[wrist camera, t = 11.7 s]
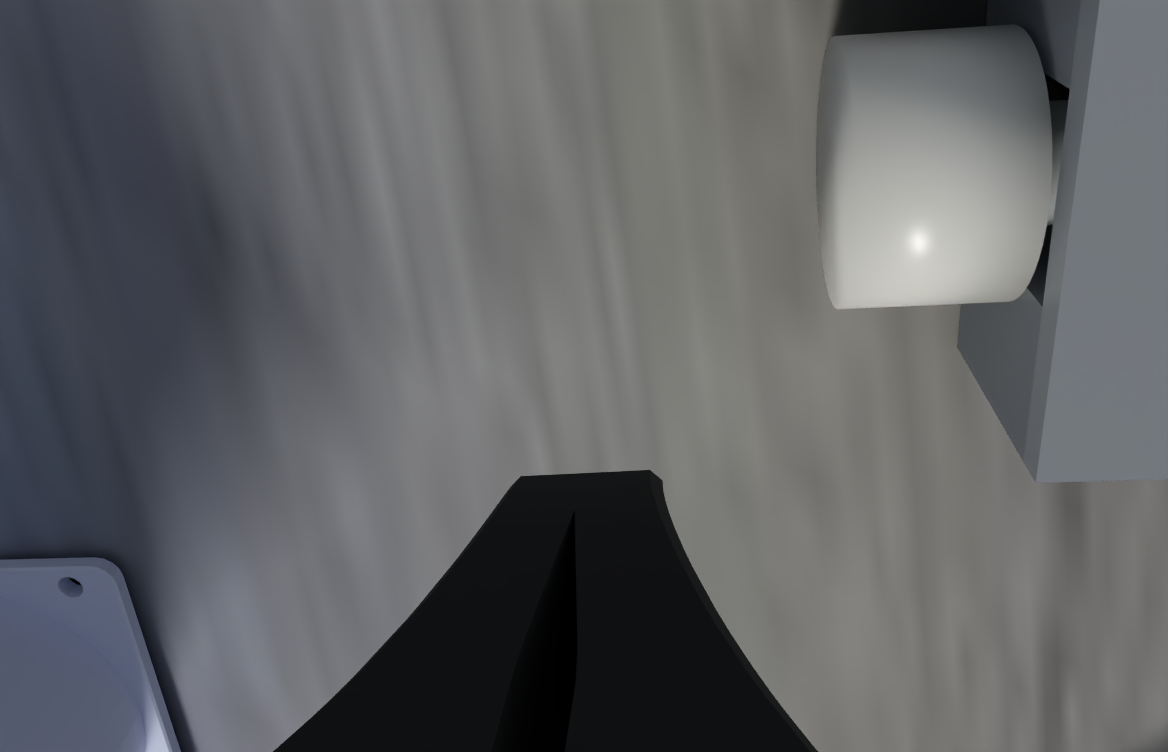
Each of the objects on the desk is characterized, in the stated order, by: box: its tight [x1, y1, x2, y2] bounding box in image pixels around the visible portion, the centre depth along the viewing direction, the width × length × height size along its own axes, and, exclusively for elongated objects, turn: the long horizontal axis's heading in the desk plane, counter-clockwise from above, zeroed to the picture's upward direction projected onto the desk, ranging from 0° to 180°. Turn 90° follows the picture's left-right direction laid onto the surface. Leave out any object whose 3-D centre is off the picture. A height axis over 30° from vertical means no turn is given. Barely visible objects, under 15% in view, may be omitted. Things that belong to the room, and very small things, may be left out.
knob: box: [816, 24, 1068, 309], centre depth 16 cm, size 8×4×4 cm, turn 94°
